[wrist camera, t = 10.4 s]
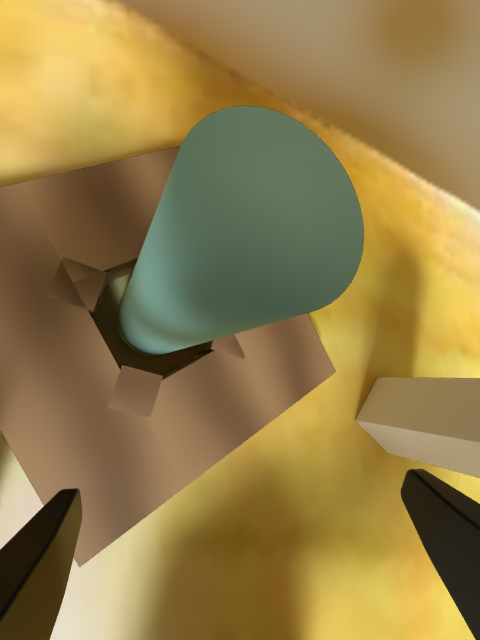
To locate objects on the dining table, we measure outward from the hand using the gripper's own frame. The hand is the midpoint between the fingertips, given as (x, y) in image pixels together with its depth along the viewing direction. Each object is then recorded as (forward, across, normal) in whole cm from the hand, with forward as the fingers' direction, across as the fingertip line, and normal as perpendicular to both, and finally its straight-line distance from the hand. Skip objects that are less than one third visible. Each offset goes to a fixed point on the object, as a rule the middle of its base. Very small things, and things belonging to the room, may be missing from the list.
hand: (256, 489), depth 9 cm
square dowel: (+12, -13, +7) cm, 19 cm away
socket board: (+12, +4, -1) cm, 12 cm away
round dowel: (+12, +4, 0) cm, 12 cm away
